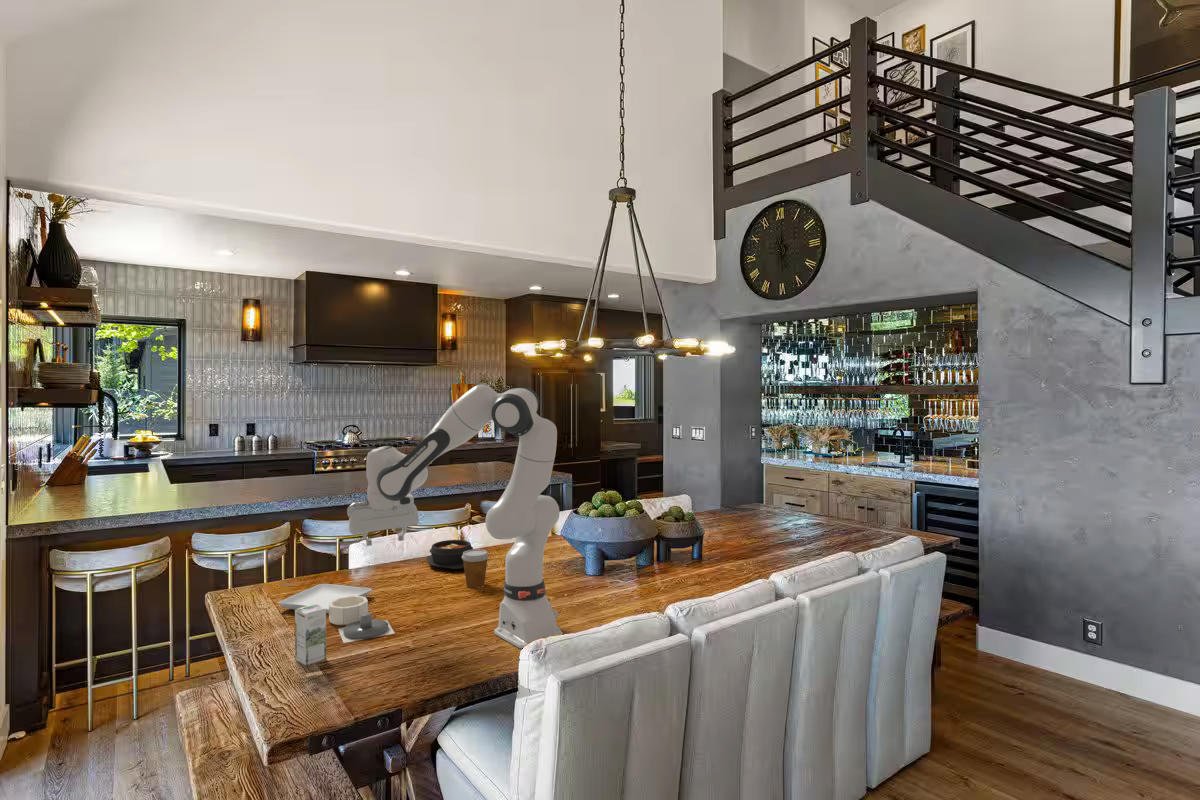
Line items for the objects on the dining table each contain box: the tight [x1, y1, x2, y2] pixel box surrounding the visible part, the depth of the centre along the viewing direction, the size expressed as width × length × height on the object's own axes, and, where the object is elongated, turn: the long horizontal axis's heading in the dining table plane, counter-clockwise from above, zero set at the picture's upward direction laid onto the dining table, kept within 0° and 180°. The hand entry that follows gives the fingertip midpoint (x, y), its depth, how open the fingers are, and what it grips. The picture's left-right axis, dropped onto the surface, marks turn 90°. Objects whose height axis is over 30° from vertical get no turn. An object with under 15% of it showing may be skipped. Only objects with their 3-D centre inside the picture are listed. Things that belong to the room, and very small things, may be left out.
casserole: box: [426, 539, 474, 570], centre depth 263 cm, size 25×19×8 cm
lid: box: [343, 612, 389, 640], centre depth 193 cm, size 12×12×5 cm
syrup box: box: [294, 604, 327, 666], centre depth 174 cm, size 6×6×14 cm
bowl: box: [328, 596, 369, 626], centre depth 203 cm, size 11×11×6 cm
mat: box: [337, 619, 396, 644], centre depth 193 cm, size 12×14×1 cm
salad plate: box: [277, 583, 372, 615], centre depth 219 cm, size 21×21×3 cm
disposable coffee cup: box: [462, 549, 490, 589], centre depth 237 cm, size 10×10×12 cm
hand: (385, 542), depth 202 cm, fingers open, 8 cm apart
